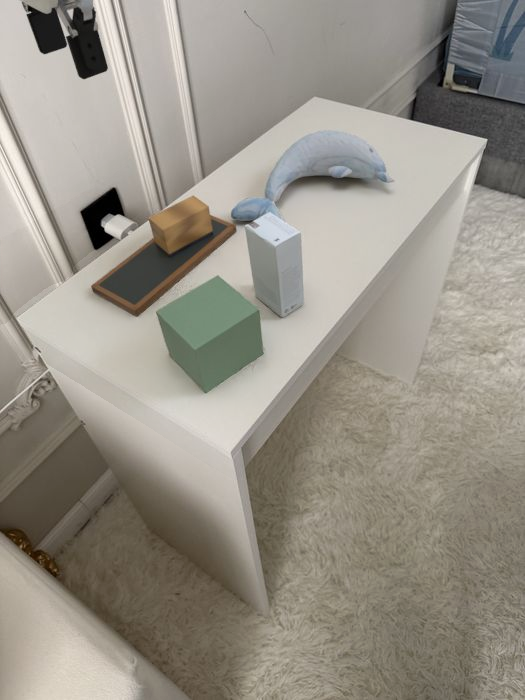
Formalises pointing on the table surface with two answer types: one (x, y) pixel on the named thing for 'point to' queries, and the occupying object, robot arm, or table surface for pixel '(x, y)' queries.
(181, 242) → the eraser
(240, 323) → the sage green box
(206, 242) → the chalkboard
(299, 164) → the sculpture
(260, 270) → the cosmetic box
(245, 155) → the table surface
